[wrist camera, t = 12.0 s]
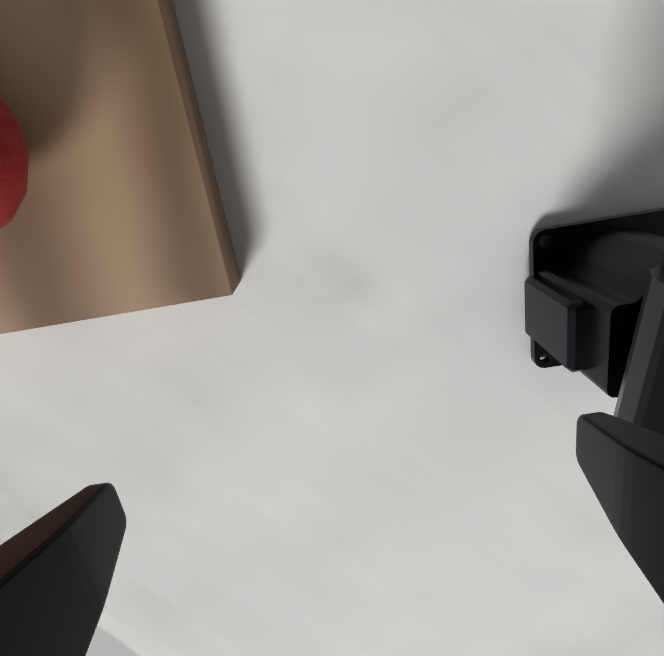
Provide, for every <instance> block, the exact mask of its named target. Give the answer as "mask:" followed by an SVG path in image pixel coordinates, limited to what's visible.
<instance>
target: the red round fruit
mask: <svg viewBox="0 0 664 656" xmlns="http://www.w3.org/2000/svg"><path fill="white" fill-rule="evenodd" d="M28 166H29V153H28V150H27V147H26V143H25V140H24V137H23V134H22V130H21V127H20V124H19V122H18V120H17V119H16V117H15V116H14V115H13V113H12V112H11V110H10V109H9V107H8V106H7V105H6V103H5V102H4V100H3V99H2V97H1V96H0V229H1V228H2V227H4V226H5V225H6V224H8V223H9V222H11V221H12V219H13V217H14V215H15V213H16V212H17V210H18V208H19V206H20V204H21V203H22V201H23V199H24V197H25V195H26V193H27V182H28Z"/></svg>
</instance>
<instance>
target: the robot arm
mask: <svg viewBox="0 0 664 656" xmlns="http://www.w3.org/2000/svg"><path fill="white" fill-rule="evenodd" d="M544 235H546V238H547V240H546V242H545V243H544V244H543V245H539V239H540V238H541V237H542V236H544ZM529 264H530V276H529V277H528V278H527V280H526V281H525V330H526V333H527V334H528V335H529V336H530V337H531V358H532V361H533V362H534V363H535V364H536V365H537V366H539V367H541V368H547V367H553V366H560V365H563V366H564V367H565V368H567V369H568V370H570V371H571V372H577V371H580V372H582V373H583V374H584V375H585V376H586V377H587V378H589V379H590V380H591V381H592V382H593V383H595V384H596V385H597V386H598V387H599V388H600V389H602V390H603V391H604V392H605V393H606V394H608V395H609V396H610V397H618V400H617V404H616V408H615V412H614V416H612V415H609V414H606V413H603V412H597V413H590V414H583V415H581V416H580V417H579V418H578V420H577V434H576V456H577V460H578V463H579V465H580V467H581V469H582V471H583V473H584V474H585V476H586V478H587V480H588V482H589V484H590V486H591V487H592V489H593V491H594V493H595V495H596V497H597V499H598V500H599V502H600V504H601V506H602V508H603V510H604V511H605V513H606V515H607V517H608V519H609V521H610V523H611V524H612V526H613V528H614V530H615V531H616V533H617V535H618V537H619V538H620V540H621V541H622V543H623V544H624V546H625V547H626V549H627V550H628V552H629V553H630V555H631V556H632V558H633V559H634V561H635V562H636V564H637V565H638V567H639V568H640V569H641V571H642V572H643V574H644V575H645V577H646V578H647V580H648V581H649V583H650V584H651V585H652V587H653V588H654V590H655V591H656V593H657V594H658V596H659V597H660V599H661V600H662V602H663V603H664V208H659V209H653V210H647V211H641V212H635V213H629V214H623V215H617V216H611V217H605V218H599V219H593V220H586V221H580V222H574V223H568V224H562V225H556V226H550V227H544V228H539V229H537V230H535V231H534V232H533V233H532V234H531V236H530V240H529ZM544 353H547V356H546V357H545V358H544V359H542V360H540V356H541V355H542V354H544ZM125 529H126V516H125V513H124V510H123V508H122V505H121V502H120V500H119V497H118V495H117V492H116V490H115V488H114V486H113V485H112V484H110V483H101V484H94V485H89V486H87V487H85V488H84V489H83V490H81V491H80V492H78V493H77V494H75V495H74V496H72V497H71V498H69V499H68V500H66V501H65V502H63V503H62V504H60V505H59V506H57V507H56V508H54V509H53V510H52V511H50V512H49V513H47V514H46V515H44V516H43V517H41V518H40V519H38V520H37V521H35V522H34V523H32V524H31V525H29V526H28V527H26V528H25V529H24V530H22V531H21V532H19V533H18V534H16V535H15V536H13V537H12V538H10V539H9V540H7V541H6V542H4V543H3V544H1V545H0V656H85V655H86V653H87V650H88V648H89V645H90V642H91V640H92V637H93V635H94V632H95V629H96V627H97V624H98V621H99V619H100V616H101V613H102V610H103V607H104V605H105V601H106V598H107V595H108V591H109V588H110V584H111V580H112V577H113V573H114V569H115V566H116V562H117V558H118V555H119V551H120V547H121V544H122V540H123V536H124V533H125Z"/></svg>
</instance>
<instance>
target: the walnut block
mask: <svg viewBox="0 0 664 656" xmlns="http://www.w3.org/2000/svg"><path fill="white" fill-rule="evenodd" d="M0 96H1V97H2V99H3V100H4V102H5V103H6V105H7V106H8V107H9V109H10V110H11V112H12V113H13V115H14V116H15V117H16V119H17V120H18V122H19V124H20V127H21V130H22V134H23V137H24V140H25V143H26V147H27V150H28V153H29V166H28V182H27V193H26V195H25V197H24V199H23V201H22V203H21V204H20V206H19V208H18V210H17V212H16V213H15V215H14V217H13V219H12V221H11V222H9V223H8V224H6V225H5V226H4V227H2V228H1V229H0V334H3V333H9V332H15V331H21V330H26V329H32V328H38V327H44V326H50V325H56V324H62V323H68V322H74V321H80V320H86V319H92V318H97V317H103V316H109V315H115V314H121V313H127V312H133V311H139V310H145V309H151V308H157V307H163V306H168V305H174V304H180V303H186V302H192V301H198V300H204V299H210V298H216V297H222V296H228V295H232V294H233V292H234V291H235V289H236V287H237V286H238V284H239V283H240V281H241V280H240V276H239V271H238V267H237V263H236V259H235V255H234V251H233V247H232V243H231V239H230V234H229V230H228V226H227V222H226V218H225V214H224V210H223V206H222V202H221V197H220V193H219V189H218V185H217V181H216V177H215V173H214V169H213V165H212V160H211V156H210V152H209V148H208V144H207V140H206V136H205V132H204V128H203V123H202V119H201V115H200V111H199V107H198V103H197V99H196V95H195V91H194V86H193V82H192V78H191V74H190V70H189V66H188V62H187V58H186V54H185V49H184V45H183V41H182V37H181V33H180V29H179V25H178V21H177V17H176V12H175V8H174V4H173V0H0Z"/></svg>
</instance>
